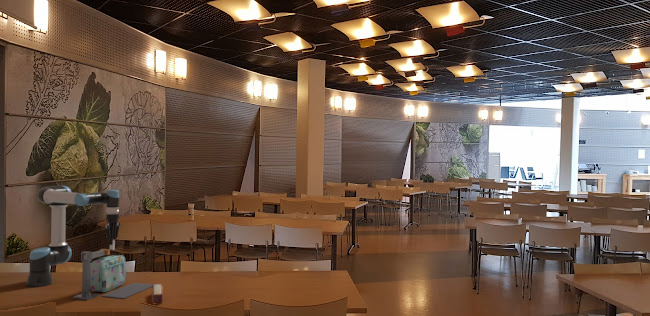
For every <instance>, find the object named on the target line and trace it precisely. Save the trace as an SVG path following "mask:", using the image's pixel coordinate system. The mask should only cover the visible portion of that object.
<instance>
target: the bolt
mask: <svg viewBox="0 0 650 316" xmlns="http://www.w3.org/2000/svg"><path fill="white" fill-rule="evenodd" d="M110 251H111V250H110V248H108V249H107V248H100V249H99V250H97V251H91V252H92V260H93V259H95V258H101V257H105V256H111V252H110ZM83 260H87V254H84V255H83Z"/></svg>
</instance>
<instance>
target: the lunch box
mask: <svg viewBox="0 0 650 316" xmlns="http://www.w3.org/2000/svg"><path fill="white" fill-rule="evenodd" d="M126 260H127V259H126V257H125V256H124V255H122V254H121V255H107V256H103V257H98V259H95V260H94V261H93V260H92V261H91V262H90V291H92V292H95V293H96V292H97V293H107V292H109V291H110V292H111V291H113V290H114V289H116V288H118V287H120V286H123V285H124V284H125V282H126V280H127V262H126Z"/></svg>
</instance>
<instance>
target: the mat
mask: <svg viewBox="0 0 650 316" xmlns="http://www.w3.org/2000/svg"><path fill="white" fill-rule="evenodd" d="M153 285H156V284H155V283H154V284H152V283H143V282H133V283H130V284H128V285H125V286H123V287H120V288H117V289H115V290H111V291H110V292H108V293H107V292H106V293H105V294H102V295H101V297H104V298H110V299H111V298H112V299H123V300H125V299H127V298H130V297H132V296H135V295H136V294H139V293H141V292H143V291H146V290H148V289H150V288H151V289H152V287H153Z"/></svg>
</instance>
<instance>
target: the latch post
mask: <svg viewBox="0 0 650 316" xmlns="http://www.w3.org/2000/svg"><path fill="white" fill-rule="evenodd" d="M92 252H93V251H86V250H85V251H81V252H80V261H81V262H82V276H81V279H82V282H81V293H79V294H76V295H74V296H72V300H79V301H80V300H81V301H89V300H91V299H94V298H96V297H98V296H100V294H99V293H96V292H95V293H94V292H91V287H90V264H91V262H93V259H92ZM84 254H87V260H83V255H84Z"/></svg>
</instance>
